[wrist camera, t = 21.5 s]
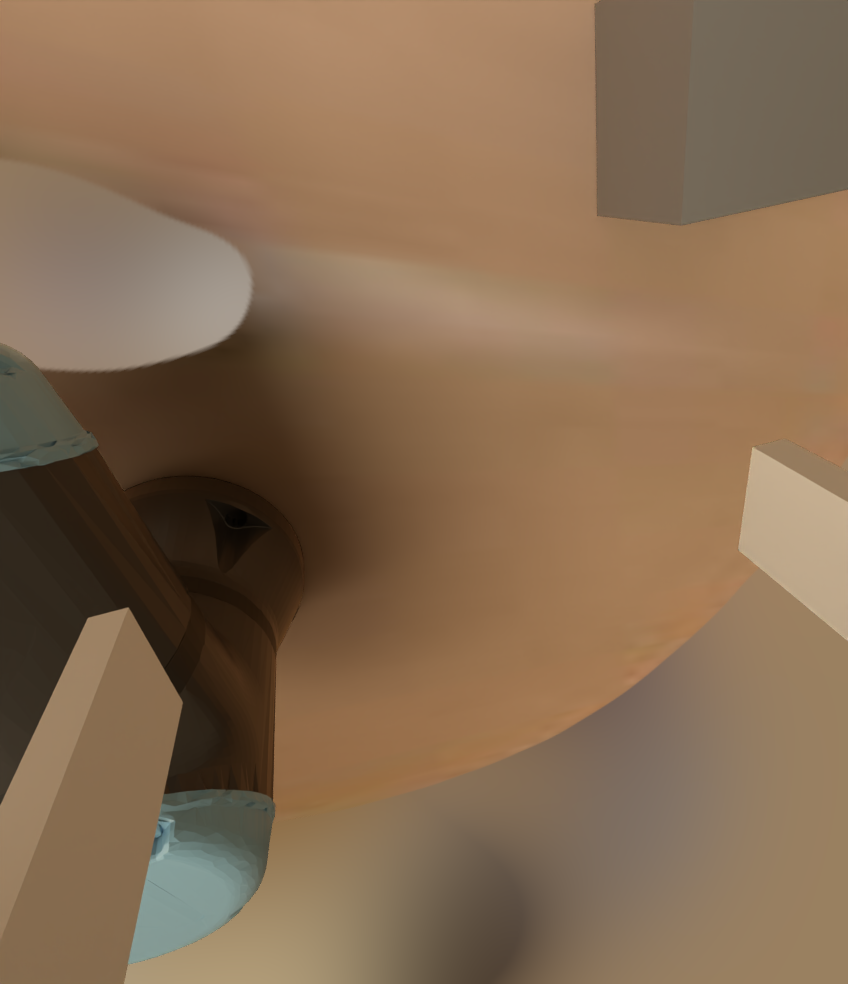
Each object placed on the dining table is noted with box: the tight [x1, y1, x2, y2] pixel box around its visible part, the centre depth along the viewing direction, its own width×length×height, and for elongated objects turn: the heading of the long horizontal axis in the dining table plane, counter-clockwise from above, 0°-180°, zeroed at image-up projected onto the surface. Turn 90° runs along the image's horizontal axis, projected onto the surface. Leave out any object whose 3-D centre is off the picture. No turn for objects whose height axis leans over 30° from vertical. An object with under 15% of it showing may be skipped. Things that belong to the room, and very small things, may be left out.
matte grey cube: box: [595, 0, 848, 225], centre depth 29 cm, size 10×10×9 cm
